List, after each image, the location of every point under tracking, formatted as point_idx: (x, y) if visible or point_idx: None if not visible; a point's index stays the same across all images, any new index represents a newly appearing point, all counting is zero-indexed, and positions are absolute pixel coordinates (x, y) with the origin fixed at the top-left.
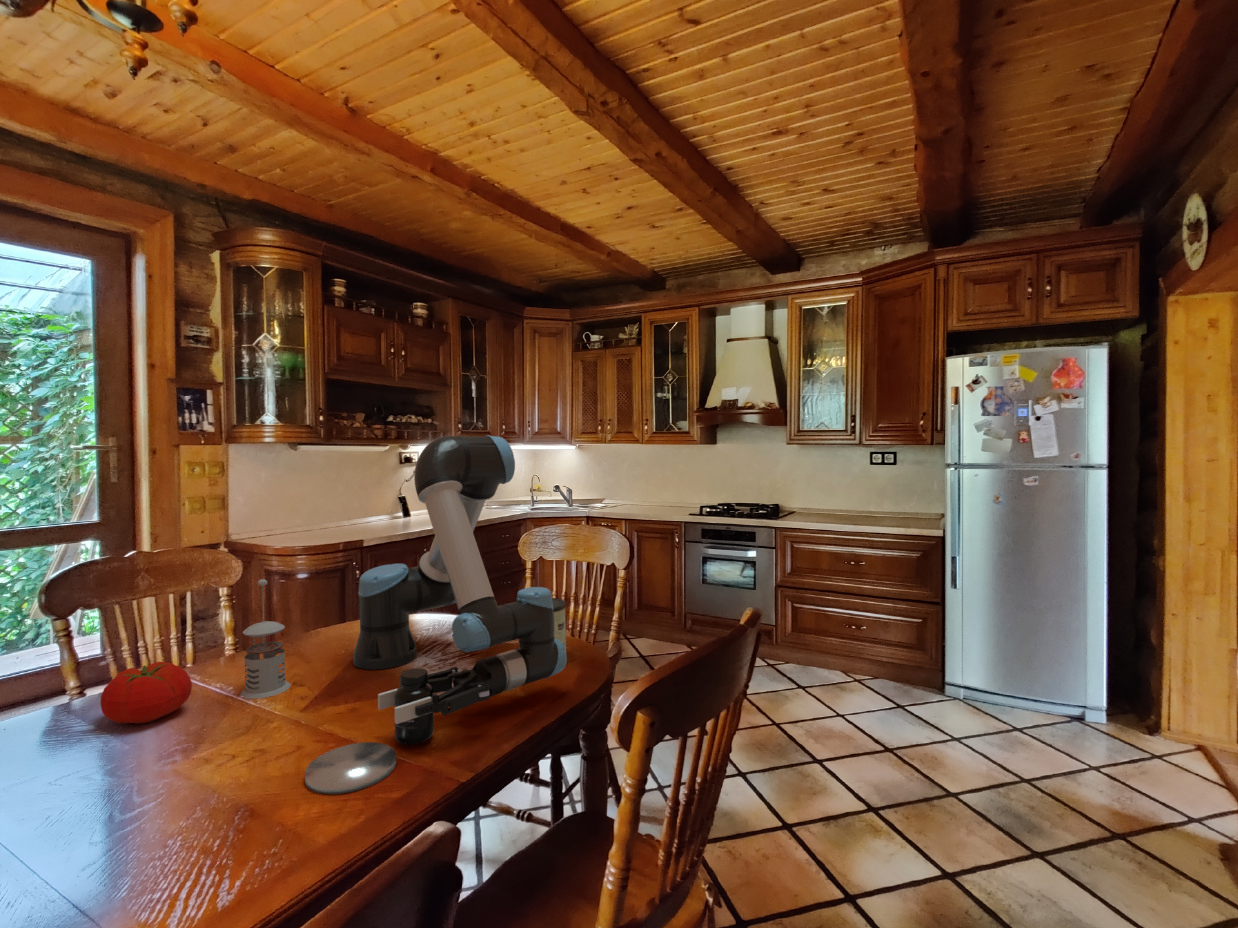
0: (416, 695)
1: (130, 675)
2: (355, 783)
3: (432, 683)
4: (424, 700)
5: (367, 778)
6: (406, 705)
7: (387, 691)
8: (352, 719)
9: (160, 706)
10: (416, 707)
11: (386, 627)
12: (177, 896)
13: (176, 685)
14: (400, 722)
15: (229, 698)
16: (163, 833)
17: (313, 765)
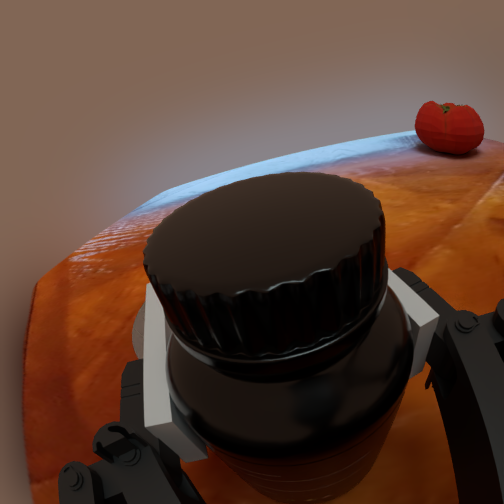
0: (170, 334)
1: (442, 106)
2: (136, 317)
3: (480, 440)
4: (144, 388)
5: (136, 333)
6: (146, 312)
7: None
8: (475, 282)
9: (430, 135)
10: (139, 360)
11: None
12: (107, 236)
13: (449, 123)
14: None
15: (499, 171)
16: None
17: None
